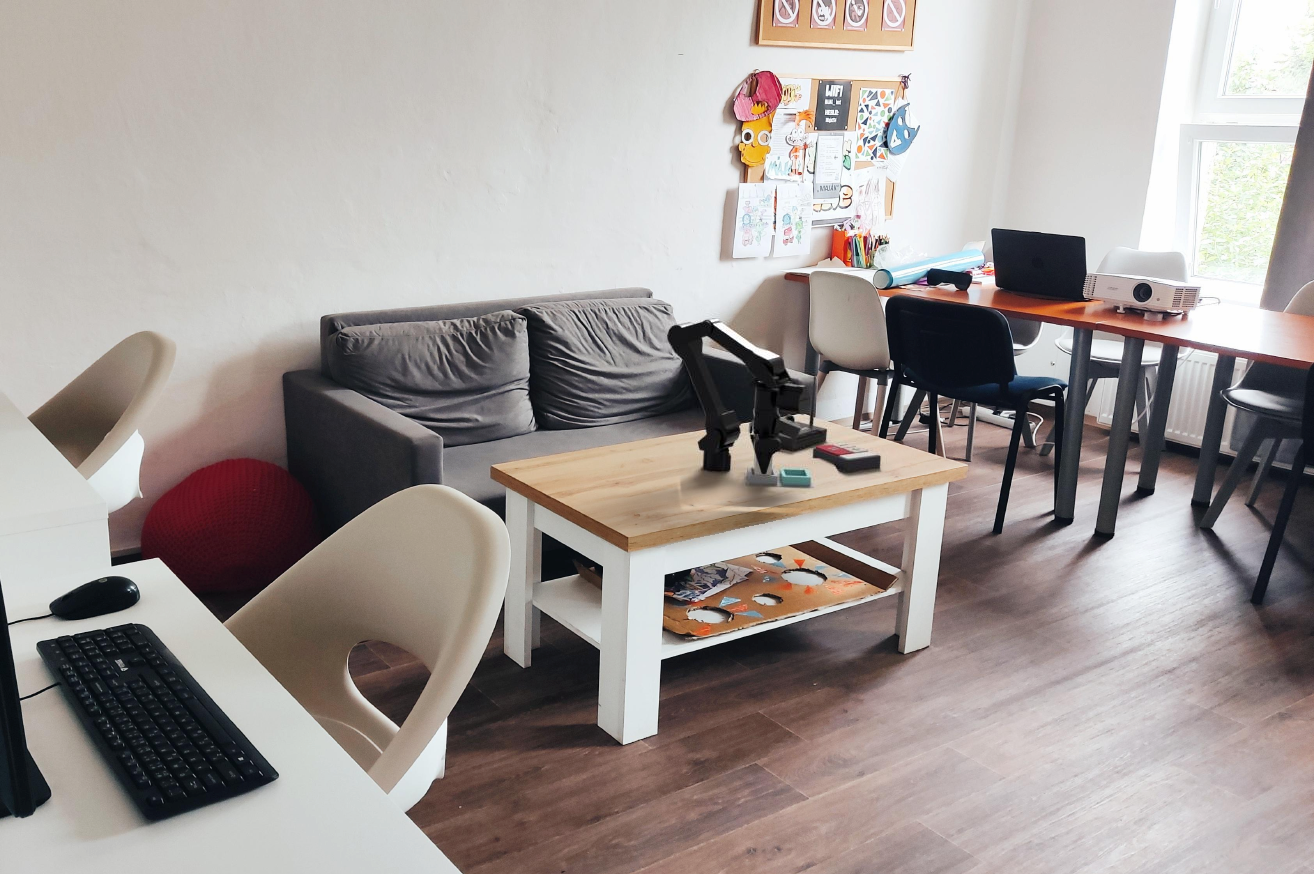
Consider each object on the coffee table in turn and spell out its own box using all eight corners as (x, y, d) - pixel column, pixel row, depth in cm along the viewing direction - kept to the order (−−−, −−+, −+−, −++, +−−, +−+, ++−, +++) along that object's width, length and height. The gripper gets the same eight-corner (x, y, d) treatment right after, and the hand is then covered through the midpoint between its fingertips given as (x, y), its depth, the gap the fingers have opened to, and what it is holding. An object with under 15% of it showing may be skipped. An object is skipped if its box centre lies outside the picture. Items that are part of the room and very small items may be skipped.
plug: (754, 481, 264) (756, 454, 262) (753, 476, 268) (754, 449, 266) (770, 482, 264) (772, 454, 262) (769, 477, 268) (771, 449, 266)
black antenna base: (796, 454, 293) (801, 392, 289) (756, 442, 302) (760, 382, 298) (839, 441, 307) (844, 381, 303) (799, 430, 317) (803, 373, 312)
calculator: (845, 441, 294) (881, 453, 281) (844, 456, 295) (880, 469, 282) (812, 445, 289) (847, 457, 276) (811, 461, 290) (846, 474, 277)
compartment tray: (746, 489, 261) (747, 477, 261) (743, 476, 271) (744, 465, 270) (813, 491, 262) (814, 479, 261) (808, 478, 271) (808, 467, 270)
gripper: (804, 418, 252) (800, 482, 256) (795, 399, 270) (791, 459, 274) (756, 416, 252) (753, 481, 256) (750, 398, 270) (746, 458, 274)
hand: (762, 469), depth 265 cm, fingers open, 7 cm apart
